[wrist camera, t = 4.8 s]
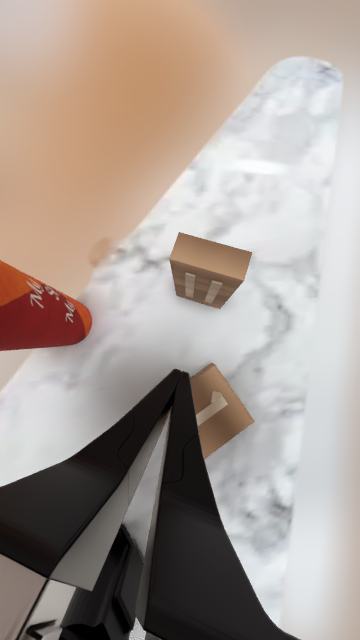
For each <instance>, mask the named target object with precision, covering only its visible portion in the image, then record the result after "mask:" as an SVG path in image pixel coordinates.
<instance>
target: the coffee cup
mask: <svg viewBox="0 0 360 640" xmlns="http://www.w3.org/2000/svg"><path fill="white" fill-rule="evenodd" d="M91 324H92V318H91V314H90V312H89V310H88V309H87V308H86V307H85V306H84V305H83V304H81V303H80V302H78V301H76V300H74V299H72V298H71V297H69V296H67V295H65V294H63V293H61V292H59V291H57V290H56V289H54V288H52V287H50V286H48V285H46V284H44V283H42V282H40V281H38V280H37V279H35V278H33V277H31V276H29V275H27V274H25V273H23V272H21V271H19V270H18V269H16V268H14V267H12V266H10V265H8V264H6V263H4V262H2V261H0V351H3V350H4V351H5V350H19V349H32V348H45V347H57V346H67V345H73V344H76V343H78V342H80V341H82V340H83V339H84V338H85V337H86V336H87V334H88V333H89V331H90V328H91Z"/></svg>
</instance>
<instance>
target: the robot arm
mask: <svg viewBox="0 0 360 640" xmlns="http://www.w3.org/2000/svg"><path fill="white" fill-rule="evenodd" d="M171 407H172V408H171ZM170 410H171V412H170ZM169 413H170V418H169V423H168V429H167V435H166V440H165V446H164V452H163V457H162V463H161V468H160V474H159V480H158V485H157V491H156V497H155V502H154V508H153V513H152V519H151V525H150V530H149V536H148V542H147V547H146V553H145V559H144V564H142V561H141V559H140V557H139V555H138V553H137V551H136V549H135V547H134V545H133V543H132V541H131V539H130V537H129V535H128V533H127V531H126V528H125V527H124V526H123V525H121V523H122V521H123V519H124V516H125V514H126V512H127V509H128V507H129V505H130V502H131V500H132V498H133V496H134V493H135V491H136V489H137V486H138V484H139V482H140V479H141V477H142V475H143V473H144V470H145V468H146V466H147V463H148V461H149V459H150V457H151V454H152V452H153V450H154V447H155V445H156V443H157V440H158V438H159V436H160V434H161V431H162V429H163V427H164V424H165V422H166V420H167V417H168V415H169ZM119 531H121V532H122V533H121V532H119ZM136 617H137V619H138V620H139V622H140V624H141V626H142V628H143V629H144V630H145V631H146V637H145V640H300V639H298V638H296V637H294V636H292V635H290V634H288V633H286V632H284V631H282V630H281V629H280V628H278V627H277V626H276V625H275V624H274V623H273V622H272V620H271V619H270V618H269V616H268V615H267V614H266V612H265V611H264V609H263V607H262V605H261V604H260V602H259V600H258V598H257V596H256V594H255V592H254V590H253V588H252V585H251V583H250V581H249V579H248V577H247V575H246V573H245V571H244V569H243V567H242V565H241V562H240V560H239V558H238V556H237V554H236V552H235V550H234V548H233V546H232V544H231V542H230V539H229V537H228V535H227V533H226V531H225V529H224V526H223V523H222V521H221V518H220V515H219V512H218V508H217V505H216V501H215V498H214V494H213V491H212V487H211V483H210V480H209V476H208V473H207V469H206V465H205V461H204V457H203V452H202V447H201V442H200V436H199V430H198V424H197V418H196V412H195V406H194V400H193V394H192V388H191V382H190V376H189V373H188V372H184V371H182V372H181V370H178V369H174V370H173V371H172V372H171V373H169V374H168V375H167V376H166V377H165V378H164V379H163V380H162V381H161V382H160V383H159V384H158V385H157V386H156V387H155V388H154V389H152V390H151V391H150V392H149V393H148V394H147V395H146V396H145V397H144V398H143V399H142V400H141V401H140V402H139V403H138V404H136V405H135V406H134V407H133V408H132V410H130V411H129V412H128V413H127V414H126V415H125V416H124V417H122V418H121V419H120V420H119V421H118V422H117V423H116V424H114V425H113V426H112V427H111V428H109V429H108V430H107V431H105V432H104V433H103V434H102V435H100V436H99V437H98V438H96V439H95V440H94V441H92V442H91V443H90V444H88V445H87V446H86V447H84V448H83V449H82V450H80V451H79V452H78V453H76V454H75V455H73V456H72V457H70V458H68V459H67V460H65V461H63V462H60V463H58V464H56V465H53V466H51V467H49V468H46V469H44V470H41V471H39V472H37V473H34V474H32V475H29V476H27V477H24V478H22V479H20V480H17V481H15V482H12V483H10V484H7V485H5V486H2V487H0V640H129V635H130V631H132V630H133V628H134V623H135V618H136Z"/></svg>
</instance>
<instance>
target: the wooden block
mask: <svg viewBox="0 0 360 640" xmlns="http://www.w3.org/2000/svg"><path fill="white" fill-rule="evenodd" d="M251 255H252V252H249V251H245V250H241V249H238V248H234V247H231V246H227V245H223V244H220V243H216V242H212V241H209V240H205V239H202V238H198V237H194V236H191V235H187V234H184V233H180V232H179V234H178V236H177V239H176V242H175V245H174V247H173V250H172V253H171V256H170V264H171V269H172V274H173V280H174V285H175V290H176V295H177V296H180V297H183V298H186V299H190V300H193V301H196V302H199V303H202V304H206V305H209V306H212V307H215V308H219V309H220V308H221V307H222V306H223V305H224V303H225V302H226V301H227V300H228V299H229V298H230V296H231V295H232V294H233V293H234V292H235V291H236V289H237V288H238V287H239V286H240V285H241V284H242V282H243V281H244V279H245V275H246V272H247V269H248V265H249V262H250V258H251Z"/></svg>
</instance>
